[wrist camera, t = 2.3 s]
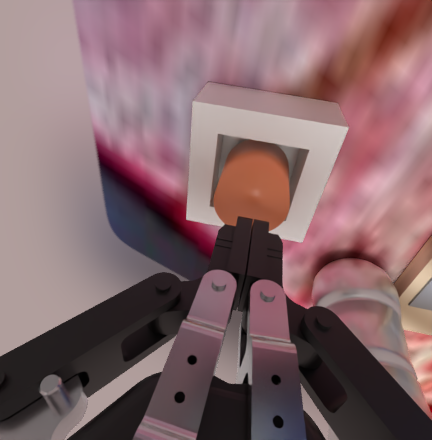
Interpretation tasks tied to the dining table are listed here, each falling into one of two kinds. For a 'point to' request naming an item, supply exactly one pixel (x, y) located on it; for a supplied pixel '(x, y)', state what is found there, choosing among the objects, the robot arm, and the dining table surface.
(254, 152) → the button cap
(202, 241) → the dining table surface
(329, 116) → the button housing
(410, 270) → the board
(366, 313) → the plastic bottle
